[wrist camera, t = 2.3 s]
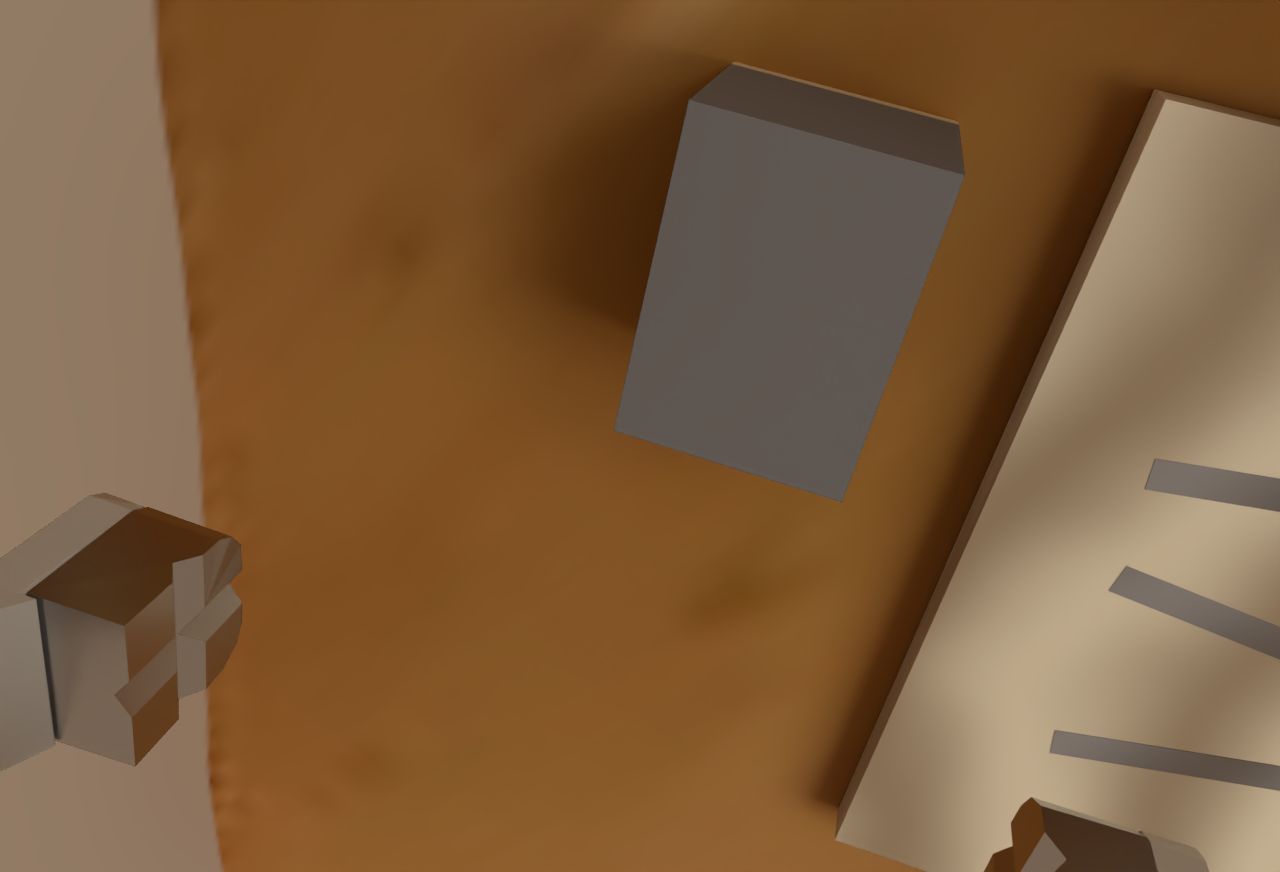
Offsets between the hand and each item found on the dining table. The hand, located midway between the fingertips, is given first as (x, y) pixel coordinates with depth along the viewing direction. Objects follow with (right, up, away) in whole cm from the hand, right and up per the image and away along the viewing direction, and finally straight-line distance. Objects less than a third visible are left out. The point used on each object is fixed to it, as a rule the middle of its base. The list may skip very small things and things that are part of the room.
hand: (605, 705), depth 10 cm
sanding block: (+4, +7, +14) cm, 16 cm away
